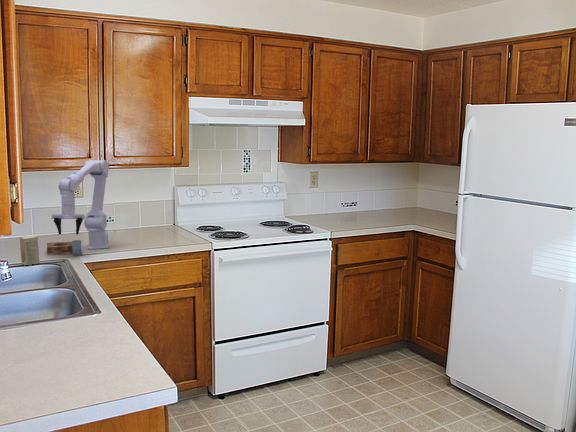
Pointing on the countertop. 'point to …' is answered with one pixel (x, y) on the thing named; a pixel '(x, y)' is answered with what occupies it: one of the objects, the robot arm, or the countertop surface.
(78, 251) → the peg
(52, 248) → the walnut holder
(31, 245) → the skincare box
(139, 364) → the countertop surface
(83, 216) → the robot arm
